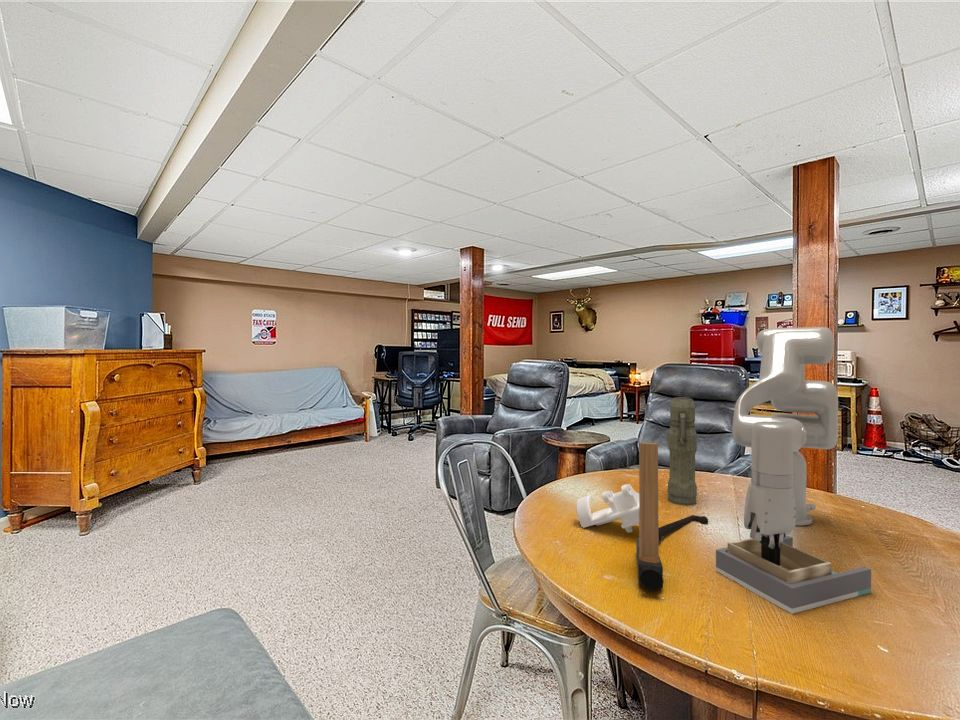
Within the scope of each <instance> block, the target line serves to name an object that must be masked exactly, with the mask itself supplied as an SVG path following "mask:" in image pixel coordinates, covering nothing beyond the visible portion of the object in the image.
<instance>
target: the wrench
mask: <svg viewBox="0 0 960 720" xmlns="http://www.w3.org/2000/svg"><path fill="white" fill-rule="evenodd" d="M692 522H697V523H700V524H702V525H707V524H708V523H709V519H708V517H707V516H705V515H694V514H692V515H689V516H686V517H684V518H681V519H679V520H676V521H675V520H674V521H673V522H670V523H667V524H664V525H663V526H660V527H659V545H660V544H661V542H662V541H663V540H662V539H663V538H664V537H666V536H668V535H670V534H671V533H673V532H674V531H675V532H676V530H678V529H680V528H683V527H684V526H686V525H688V524H690V523H692Z"/></svg>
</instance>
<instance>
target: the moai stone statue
mask: <svg viewBox="0 0 960 720" xmlns="http://www.w3.org/2000/svg"><path fill="white" fill-rule="evenodd" d="M669 409H670V412H669V413H670V414H669V417H670V423H669V429H668V432H667V437H668V438H667V441H668V442H667V445H668V447H667V448H668V451H669V478H668V481H667V494H668V498H667V500H668V501H669V503H672V504H674V505H679V506H694V505H696V504H697V495H698V486H697V483H696V453H697V451H698V434H697V430H696V425H695V422H696V406H695V402H694V399H693V398H691V397H689V396H676V397H674V398H672V400H671V403H670V408H669Z"/></svg>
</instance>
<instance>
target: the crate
mask: <svg viewBox="0 0 960 720" xmlns="http://www.w3.org/2000/svg"><path fill="white" fill-rule="evenodd" d="M766 537H767V536H766ZM727 547H728V548H727ZM727 547H726V548H727V553H729V554H731V555H733V556H735V557H737V558H739V559H741V560H743V561H745V562H747V563H749V564H751V565H753V566H755V567H757V568H759V569H761V570H763V571H765V572H767V573H769V574H771V575H773V576H775V577H777V578H779V579H781V580H783V581H785V582H787V583H789V584H794V583H798V582H802V581H807V580H811V579H815V578H819V577H823V576H828V575H832V571H833V568H832V566H833V565H832V562H829V561H827V560H826V559H823V558H821V557H818V556H816V555H813V554H811V553H808V552H807V551H804V550H801V549H799V548H796V547H794V546H793V547H792V546H790V545H787V544H785V543H783V545H782V547H779V548H780V566H778V565H776V564H773V563H771V562H769V561H767V560H765V559H763V558H761V544H760V543H759V541H757V540H754V539H752V538H747V539H742V540H741V539H740V540H735V541H731V542H728V543H727Z"/></svg>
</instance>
